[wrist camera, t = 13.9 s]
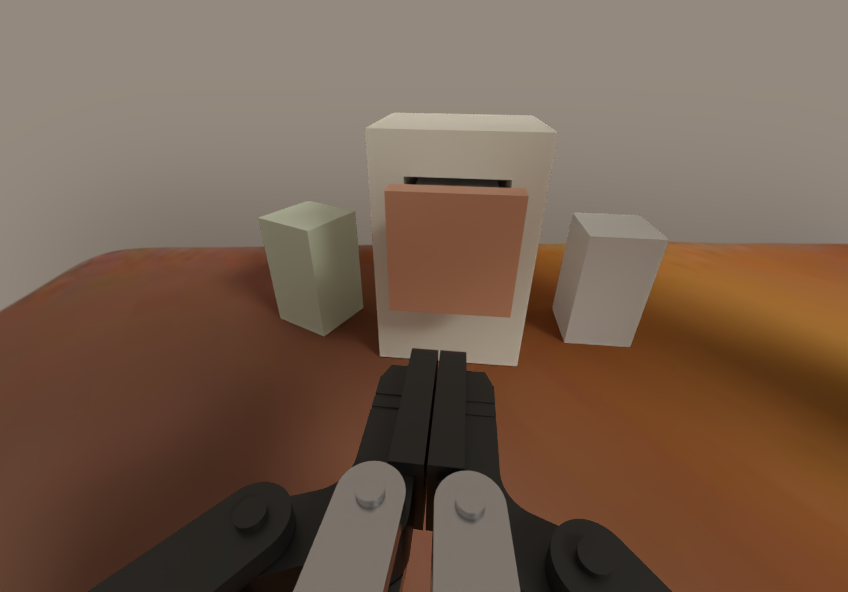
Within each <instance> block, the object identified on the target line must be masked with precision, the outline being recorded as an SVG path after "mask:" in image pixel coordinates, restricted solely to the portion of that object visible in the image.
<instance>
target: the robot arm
mask: <svg viewBox="0 0 848 592" xmlns="http://www.w3.org/2000/svg"><path fill="white" fill-rule="evenodd" d="M466 355H467V354H466V352H459V351H446V350H440V358H439V367H438V350H432V349H419V348H412V351H411V355H410V360H409V365H408V366H397V365H391V367H390V368H389V369H388V370H387V371H386V372H385V373H384V374H383V375H382V376H381V377H380V381H379V384H378V387H377V391H376V396H375V397H374V401H373V404H372V409H371V411H370V414H369V417H368V421H367V424H366V427H365V431H364V434H363V437H362V441H361V444H360V447H359V451H358V454H357V457H356V460H355V463H354V464H353V466H352V468H351V469H349V470H348V471H347V472H346V473H345V474H344V475H343V476H342V477H341V479H340V480H339V481H338V482H337V483H335V484H333V485H331V486H329V487H327V488H325V489H321V490H317V491H313V492H308V493H303V494H299V495H294V496H289V495H288V493H287V491H286V490H285V489H284V488H283V487H281V486H280V485H277V484H275V483H270V482H260V483H255V484H251V485H248V486H246V487H244V488H242V489H240V490H238V491H237V492H235V493H234V494H232V495H231V496H229V497H228V498H226V499H225V500H223V501H222V502H220V503H219V504H217V505H216V506H214V507H213V508H211V509H210V510H208V511H207V512H205V513H204V514H202V515H201V516H200V517H198V518H197V519H195V520H194V521H192V522H191V523H189V524H188V525H186V526H185V527H183V528H182V529H180V530H179V531H177V532H176V533H174V534H173V535H171V536H170V537H168V538H167V539H165V540H164V541H162V542H161V543H159V544H158V545H156V546H155V547H154V548H152V549H151V550H149V551H148V552H146V553H145V554H143V555H142V556H140V557H139V558H137V559H136V560H134V561H133V562H131V563H130V564H128V565H127V566H125V567H124V568H122V569H121V570H119V571H118V572H116V573H115V574H113V575H112V576H110V577H109V578H108V579H106V580H105V581H103V582H102V583H100V584H99V585H97V586H96V587H94V588H93V589H91V590H90V591H88V592H402V590H403V585H404V580H405V575H406V570H407V563H408V561H409V556H410V549H411V541H412V533H413V529H419V530H423V523H424V514H425V504H426V530H429V531H433V536H432V560H431V592H672V591H671V590H670V589H669V588H668V587H667V586H666V585H665V584H664V583H663V582H662V581H661V580H660V579H659V578H658V577H657V576H656V575H655V574H654V573H653V572H652V571H651V570H650V569H649V568H648V567H647V566H646V565H645V564H644V563H643V562H642V561H641V560H640V559H639V558H638V557H637V556H636V555H635V554H634V553H633V552H632V551H631V550H630V549H629V548H628V547H627V546H626V545H625V544H624V543H623V542H622V541H621V540H620V539H619V538H618V537H617V536H616V535H614V534H613V533H612V532H611V531H610V530H608V529H607V528H605V527H603V526H602V525H600V524H598V523H595V522H593V521H589V520H585V519H573V520H569V521H566V522H564V523H562V524H561V525H560V526H557V525H555V524H553V523H551V522H548V521H546V520H544V519H542V518H539V517H537V516H535V515H533V514H531V513H529V512H527V511H525V510H524V509H523V508H521V507H520V506H519V505H517V504H516V503H515V502H514V501H513V500H512V498H511V497H510V496H509V495H508V493H507V492H506V490H505V488H504V486H503V484H502V481H501V477H500V469H499V455H498V440H497V426H496V412H495V398H494V387H493V385H492V383H491V382H490V380H489V379H488V377H487V375H486V374H485V373H484V372H472V371H466ZM426 495H427V500H426Z"/></svg>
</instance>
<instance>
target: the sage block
mask: <svg viewBox="0 0 848 592" xmlns="http://www.w3.org/2000/svg"><path fill="white" fill-rule="evenodd" d="M258 220H259V225H260V229H261V233H262V238H263V243H264V247H265V252H266V256H267V261H268V265H269V270H270V274H271V279H272V283H273V288H274V292H275V297H276V301H277V306H278V310H279V315H280V318H281V319H283V320H286V321H288V322H290V323H293V324H295V325H298V326H300V327H302V328H305V329H307V330H309V331H312V332H314V333H316V334H319V335H321V336H325V335H327V334H328V333H330V332H331V331H332V330H334V329H335V328H336V327H338V326H339V325H341V324H342V323H343V322H345V321H346V320H347V319H349V318H350V317H352V316H353V315H354V314H356V313H357V312H358V311H360V310H361V309H363V297H362V285H361V274H360V262H359V250H358V239H357V227H356V216H355V211H353V210H348V209H343V208H339V207H334V206H330V205H325V204H321V203H316V202H311V201H306V202H303V203H300V204H297V205H294V206H292V207H289V208H285V209H283V210H279V211H276V212H274V213H270V214H268V215H265V216H262V217H259V218H258Z"/></svg>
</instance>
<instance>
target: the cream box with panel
mask: <svg viewBox="0 0 848 592" xmlns="http://www.w3.org/2000/svg"><path fill="white" fill-rule="evenodd" d="M365 132H366V148H367V163H368V179H369V194H370V210H371V224H372V241H373V257H374V272H375V288H376V303H377V319H378V334H379V350H380V356H382V357H395V358H409V359H410V355H411V351H412V348H419V349H432V350H438V361H439V358H440V350H446V351H459V352H466V354H467V355H466V363H478V364H491V365H505V366H517V363H518V358H519V352H520V346H521V341H522V335H523V329H524V324H525V318H526V312H527V307H528V301H529V295H530V290H531V284H532V278H533V273H534V267H535V261H536V256H537V250H538V245H539V239H540V233H541V228H542V222H543V216H544V210H545V205H546V199H547V194H548V187H549V182H550V177H551V171H552V165H553V159H554V153H555V148H556V142H557V137H558V132H556V131H555V130H554V129H552V128H551V127H549V126H547V125H546V124H545V123H543V122H542V121H540V120H539V119H537V118H536V117H534V116H532V115H484V114H434V113H392V114H390V115H388V116H387V117H385V118H383V119H381V120H379V121H378V122H376V123H374V124H372V125H370V126H368V127H366V128H365ZM419 177H433V178H463V179H493V180H497V181H498V184H499V188H525V190H526V192H527V194H528V196H529V198H528V204H527V211H526V218H525V224H524V231H523V237H522V244H521V251H520V257H519V264H518V270H517V277H516V283H515V290H514V297H513V303H512V310H511V316H510V318H507V317H491V316H475V315H459V314H443V313H427V312H411V311H395V310H390V308H389V285H388V263H387V240H386V217H385V195H384V191H385V189H386V188H387V186H388V185H389V184H414V185H415V184H416V182H417V180H418V178H419Z"/></svg>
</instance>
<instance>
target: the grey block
mask: <svg viewBox="0 0 848 592" xmlns="http://www.w3.org/2000/svg"><path fill="white" fill-rule="evenodd" d="M668 242H669V239H667V238H666V237H665V236H664V235H663V234H662V233H660V232H659V231H658V230H657V229H656V228H654V227H653V226H652V225H651V224H650V223H648V222H647V221H646V220H645V219H644V218H642V217H641V216H640V215H621V214H598V213H597V214H596V213H573V214H572V219H571V224H570V228H569V233H568V237H567V242H566V246H565V251H564V256H563V260H562V265H561V270H560V274H559V279H558V284H557V288H556V293H555V297H554V302H553V307H552V310H553V313H554V315H555V318H556V321H557V324H558V327H559V330H560V333H561V335H562V338H563V341H564V343H576V344H591V345H606V346H620V347H630V346H631V344H632V341H633V338H634V335H635V333H636V330H637V327H638V324H639V322H640V319H641V316H642V313H643V311H644V308H645V305H646V302H647V299H648V297H649V294H650V291H651V288H652V286H653V283H654V280H655V277H656V275H657V272H658V269H659V266H660V264H661V261H662V258H663V255H664V253H665V250H666V247H667V244H668Z"/></svg>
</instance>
